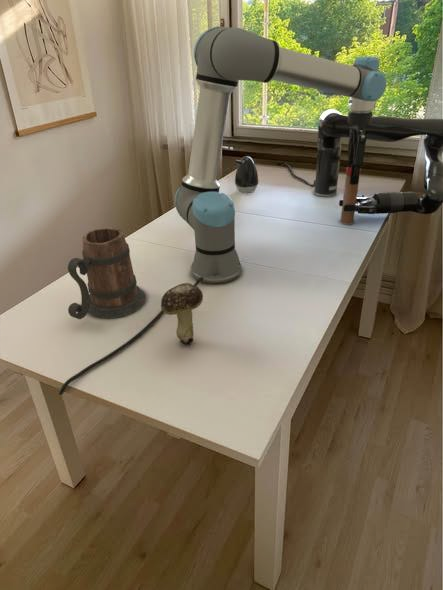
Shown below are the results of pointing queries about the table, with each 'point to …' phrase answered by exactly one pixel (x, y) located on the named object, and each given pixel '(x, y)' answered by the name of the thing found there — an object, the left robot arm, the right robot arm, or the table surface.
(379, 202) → the right robot arm
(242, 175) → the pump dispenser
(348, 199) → the jar
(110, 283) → the tankard
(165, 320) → the table surface
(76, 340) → the table surface
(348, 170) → the lid
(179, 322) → the mushroom
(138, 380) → the table surface
